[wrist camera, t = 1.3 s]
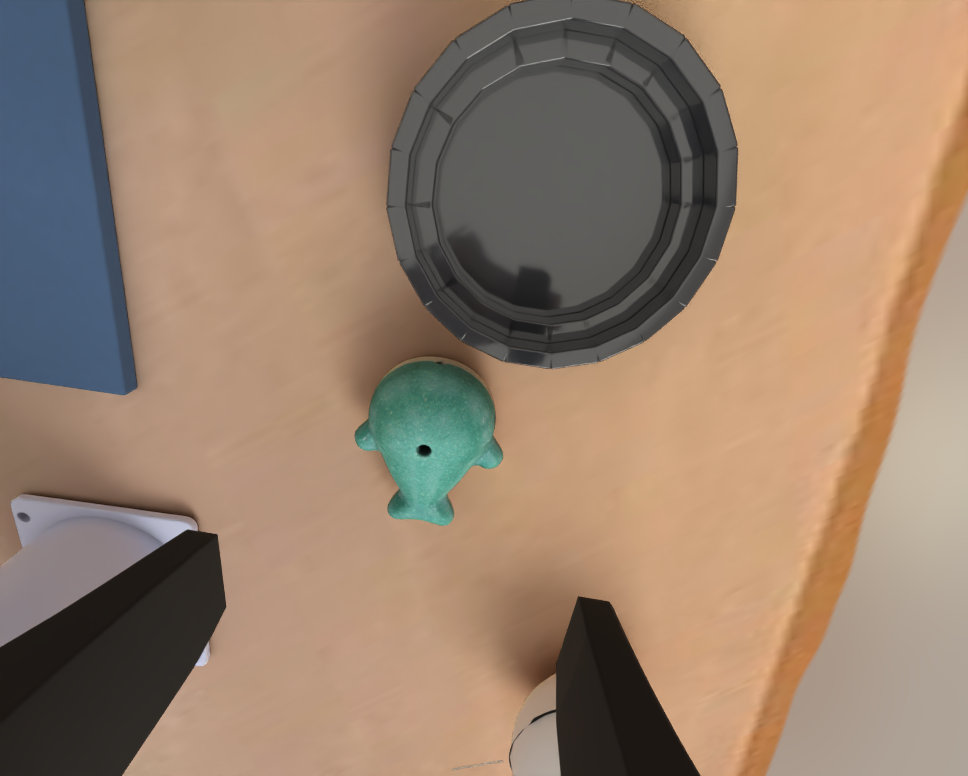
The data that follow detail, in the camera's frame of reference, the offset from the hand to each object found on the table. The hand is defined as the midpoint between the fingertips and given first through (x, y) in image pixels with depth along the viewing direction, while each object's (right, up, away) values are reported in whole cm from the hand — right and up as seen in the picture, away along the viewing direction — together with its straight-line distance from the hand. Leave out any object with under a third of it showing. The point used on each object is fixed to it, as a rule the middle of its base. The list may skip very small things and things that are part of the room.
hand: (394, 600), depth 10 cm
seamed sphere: (+5, -11, +17) cm, 21 cm away
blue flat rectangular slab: (-15, +11, +7) cm, 20 cm away
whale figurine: (0, +3, +11) cm, 11 cm away
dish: (+4, +11, +7) cm, 13 cm away
